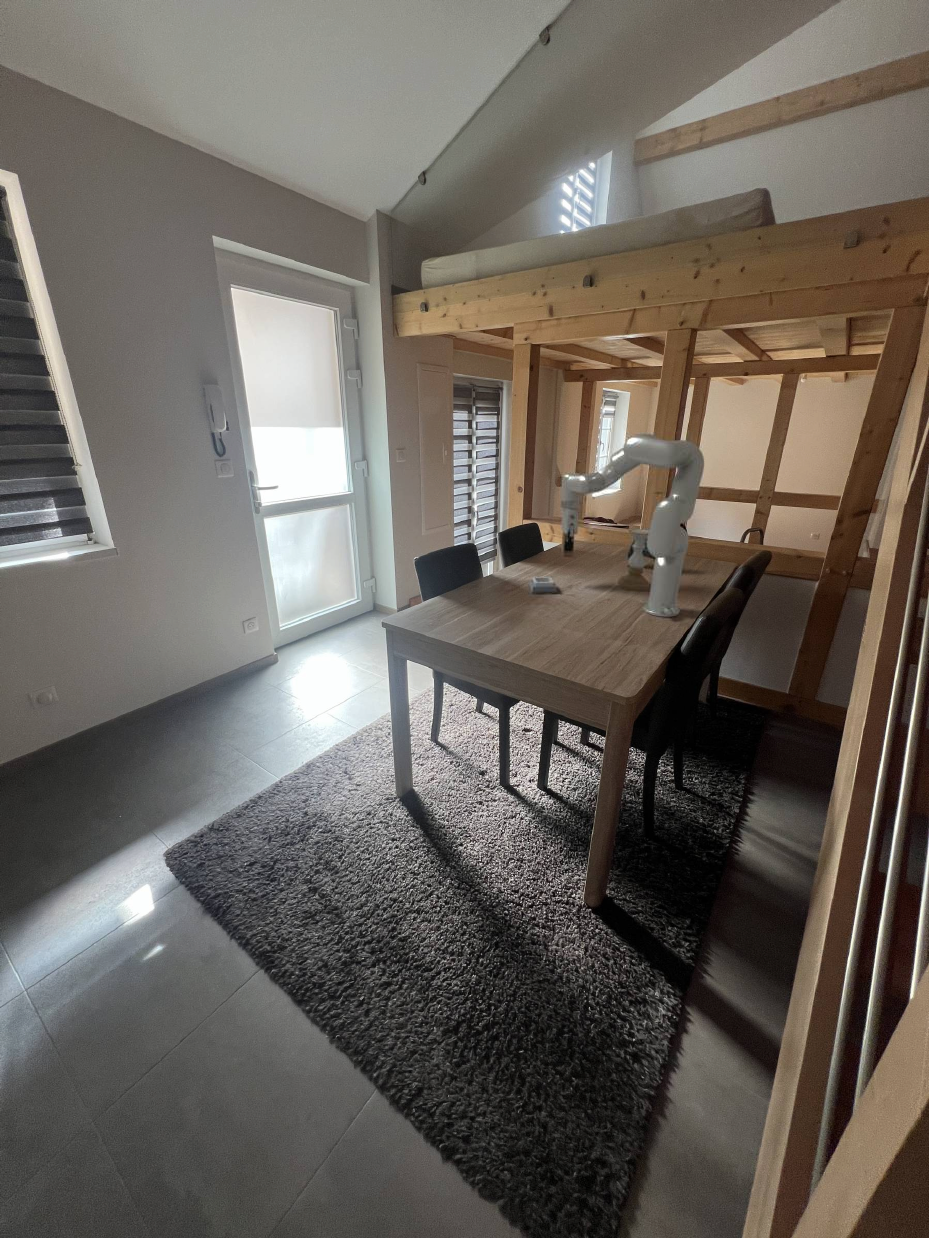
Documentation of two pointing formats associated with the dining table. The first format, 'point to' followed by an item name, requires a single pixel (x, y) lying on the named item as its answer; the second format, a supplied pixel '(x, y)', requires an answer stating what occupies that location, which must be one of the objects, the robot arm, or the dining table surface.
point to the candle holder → (636, 564)
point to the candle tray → (542, 585)
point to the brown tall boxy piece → (564, 553)
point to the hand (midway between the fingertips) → (567, 549)
